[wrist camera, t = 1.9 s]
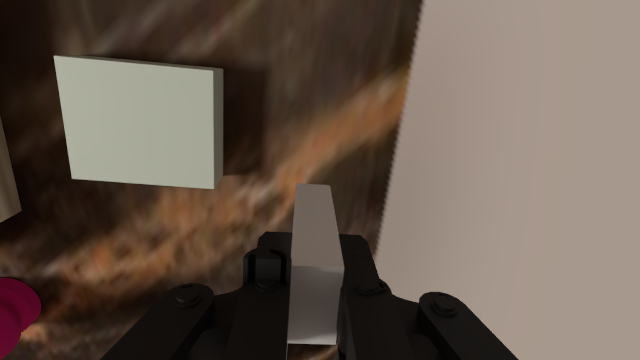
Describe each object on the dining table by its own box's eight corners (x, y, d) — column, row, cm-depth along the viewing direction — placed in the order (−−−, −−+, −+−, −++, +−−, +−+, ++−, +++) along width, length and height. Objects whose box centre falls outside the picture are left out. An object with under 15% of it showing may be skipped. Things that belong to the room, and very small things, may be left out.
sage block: (224, 68, 32) (213, 70, 28) (223, 174, 35) (213, 189, 31) (84, 55, 31) (53, 55, 27) (97, 164, 34) (72, 178, 30)
